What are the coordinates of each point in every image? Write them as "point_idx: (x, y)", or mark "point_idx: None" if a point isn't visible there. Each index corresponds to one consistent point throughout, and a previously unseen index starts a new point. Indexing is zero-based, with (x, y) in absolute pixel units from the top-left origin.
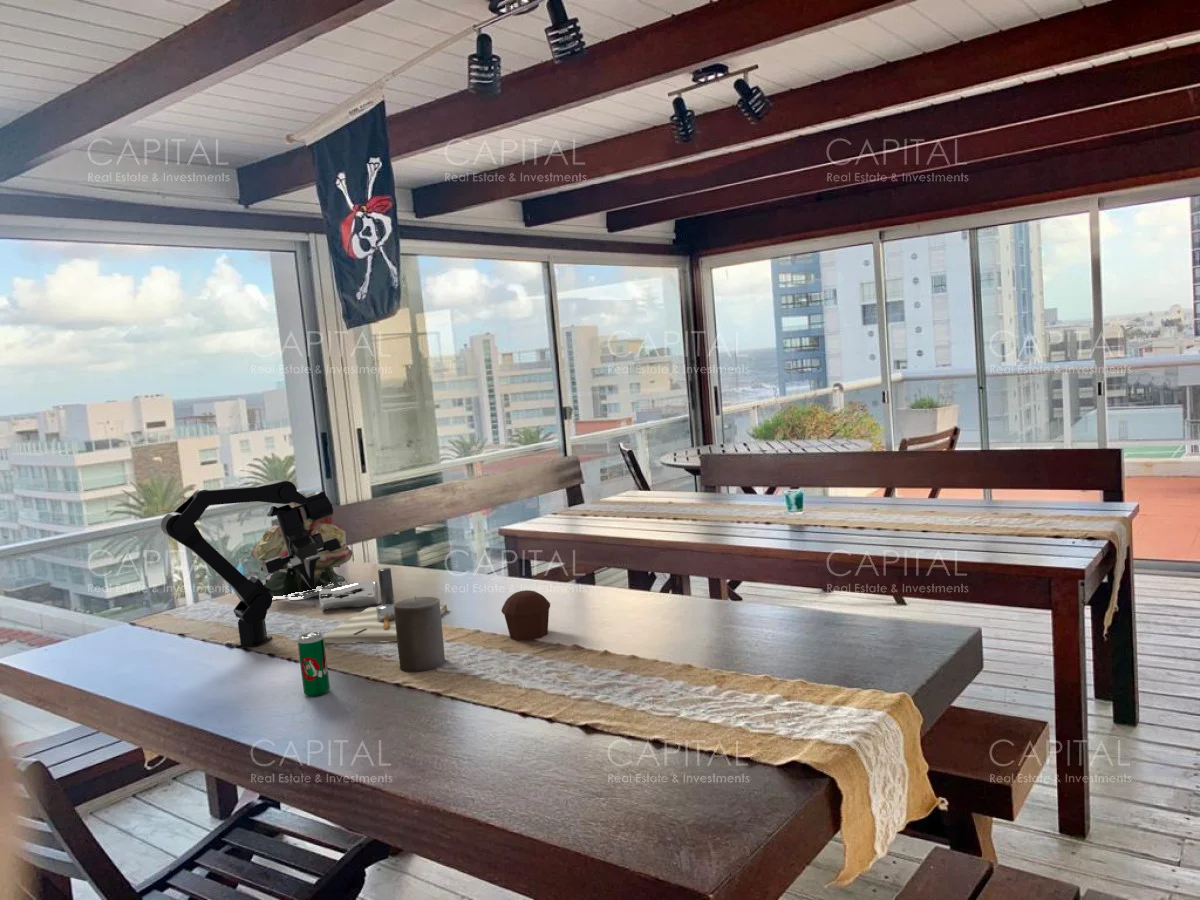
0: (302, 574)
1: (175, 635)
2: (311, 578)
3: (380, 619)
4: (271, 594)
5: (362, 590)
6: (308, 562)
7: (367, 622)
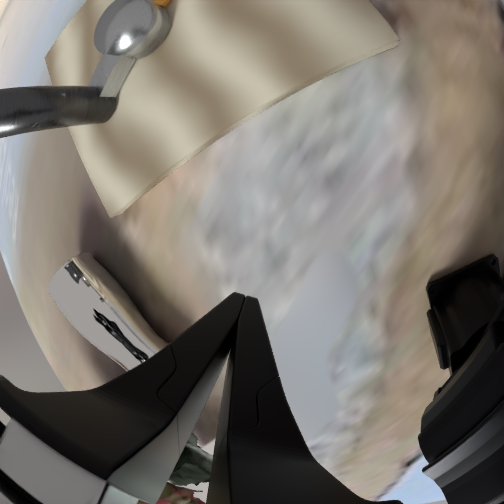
0: (286, 404)
1: (414, 465)
2: (220, 332)
3: (167, 15)
4: (206, 465)
5: (82, 288)
6: (141, 471)
7: (192, 47)
